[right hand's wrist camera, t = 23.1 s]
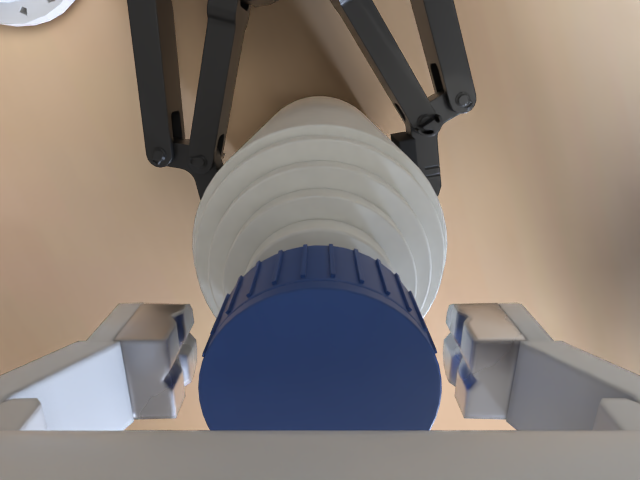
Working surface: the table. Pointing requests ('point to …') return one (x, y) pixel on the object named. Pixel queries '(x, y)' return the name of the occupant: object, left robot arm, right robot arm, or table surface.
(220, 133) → the left robot arm
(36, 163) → the table surface
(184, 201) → the table surface
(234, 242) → the bottle
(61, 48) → the table surface
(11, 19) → the mechanical component
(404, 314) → the cap
